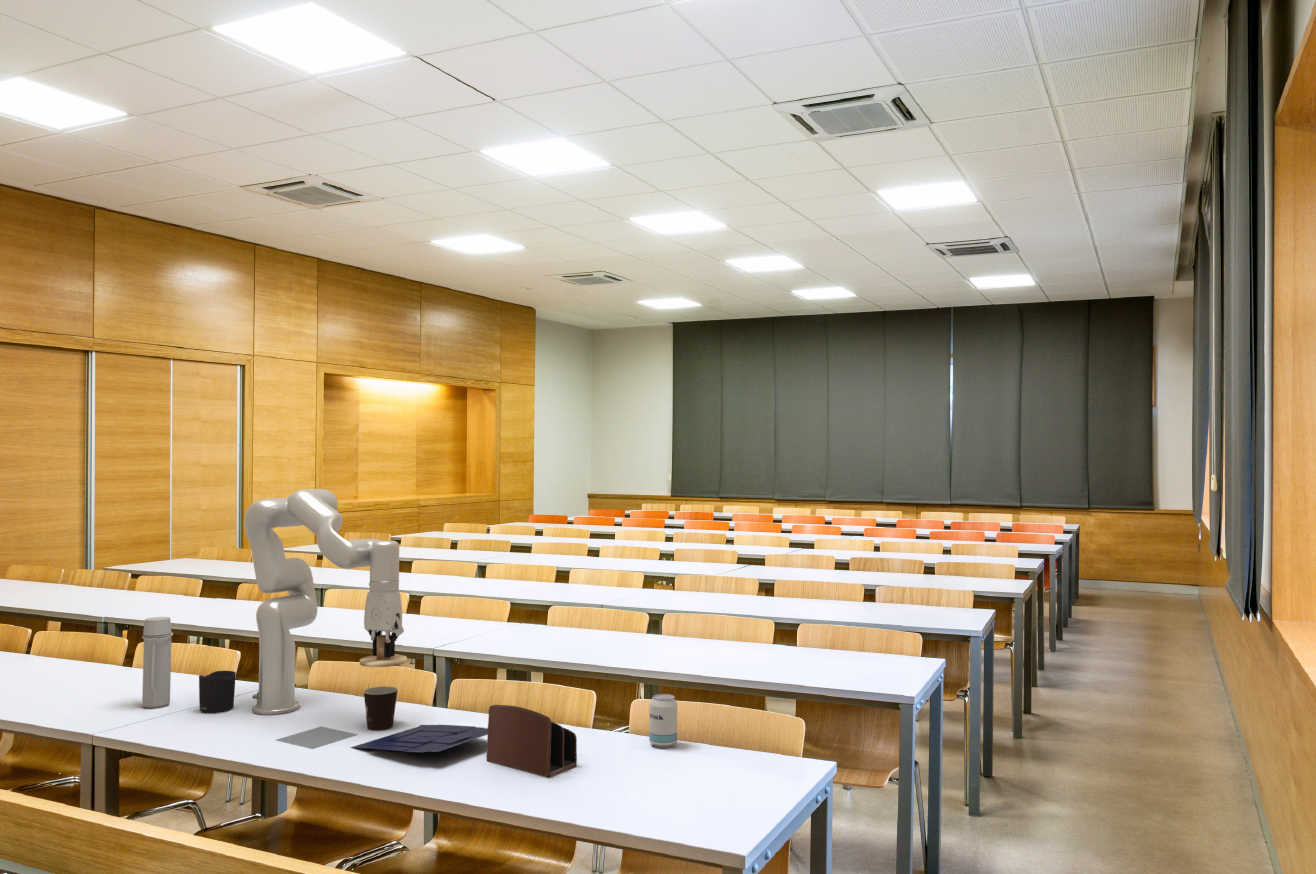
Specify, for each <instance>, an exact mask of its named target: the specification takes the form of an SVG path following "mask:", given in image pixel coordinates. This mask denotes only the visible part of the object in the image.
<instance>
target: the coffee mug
mask: <svg viewBox="0 0 1316 874" xmlns="http://www.w3.org/2000/svg"><path fill="white" fill-rule="evenodd" d="M398 690H399V689H398V688H397V687H395V686H374V687H369V688H366V689H364V690H363V698H364V708H365V719H366V728H367V730H368V731H375V732H377V731H379V732H380V731H388V730H389V729H390V730H391V729H392V728H393V727H394V721H395V720H394V719H395V713H396V704H397V697H398Z"/></svg>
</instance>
